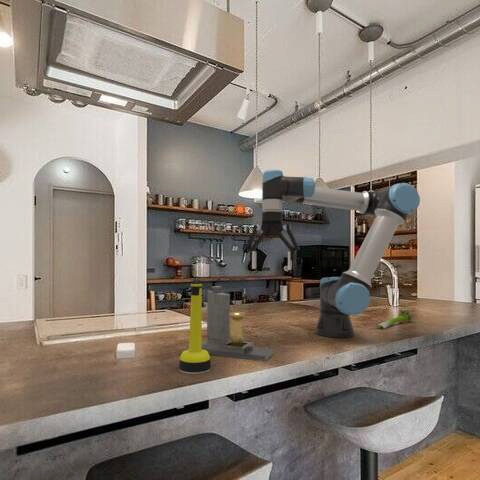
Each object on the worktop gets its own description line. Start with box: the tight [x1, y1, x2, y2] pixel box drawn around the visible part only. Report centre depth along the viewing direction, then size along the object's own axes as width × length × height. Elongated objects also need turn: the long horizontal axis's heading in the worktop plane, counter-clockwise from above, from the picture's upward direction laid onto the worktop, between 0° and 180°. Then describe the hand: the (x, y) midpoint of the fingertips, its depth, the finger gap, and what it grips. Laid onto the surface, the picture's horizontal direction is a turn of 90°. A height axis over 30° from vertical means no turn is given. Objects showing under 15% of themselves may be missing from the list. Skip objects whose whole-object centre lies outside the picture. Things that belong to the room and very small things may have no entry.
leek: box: [375, 310, 413, 330], centre depth 168 cm, size 6×7×30 cm
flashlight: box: [178, 278, 212, 375], centre depth 100 cm, size 25×9×9 cm
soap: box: [115, 342, 136, 360], centre depth 112 cm, size 9×6×3 cm, turn 17°
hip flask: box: [206, 285, 231, 340], centre depth 134 cm, size 16×4×20 cm, turn 28°
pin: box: [229, 311, 246, 347], centre depth 115 cm, size 5×5×13 cm
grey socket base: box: [202, 338, 274, 362], centre depth 115 cm, size 22×9×3 cm, turn 69°
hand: (271, 269), depth 132 cm, fingers open, 13 cm apart
